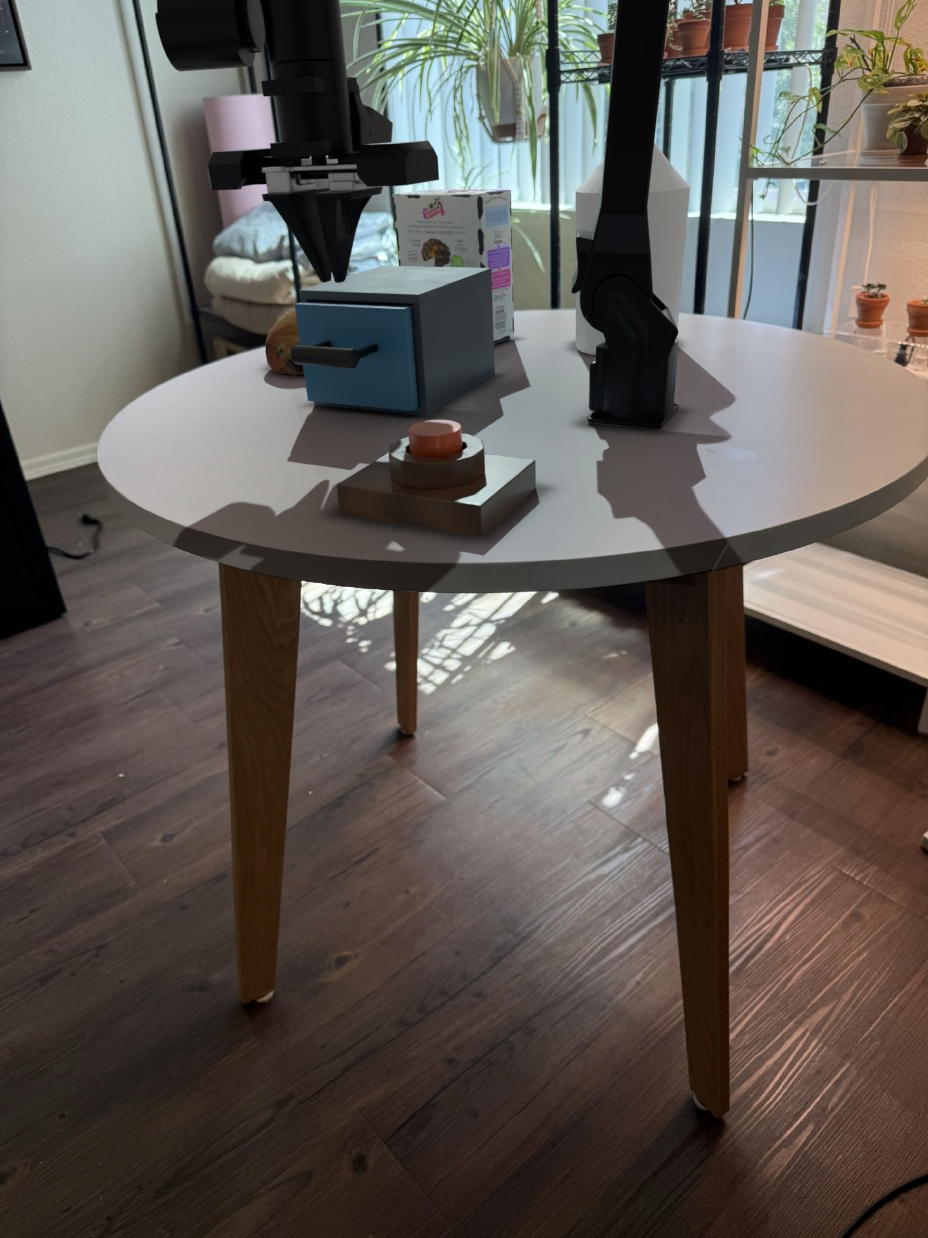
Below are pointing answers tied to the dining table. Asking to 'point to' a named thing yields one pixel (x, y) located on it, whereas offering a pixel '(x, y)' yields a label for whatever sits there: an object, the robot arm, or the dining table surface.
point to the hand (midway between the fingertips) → (333, 281)
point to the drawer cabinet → (430, 324)
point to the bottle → (664, 233)
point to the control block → (439, 488)
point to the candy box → (461, 239)
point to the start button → (435, 438)
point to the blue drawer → (358, 353)
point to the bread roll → (283, 345)
